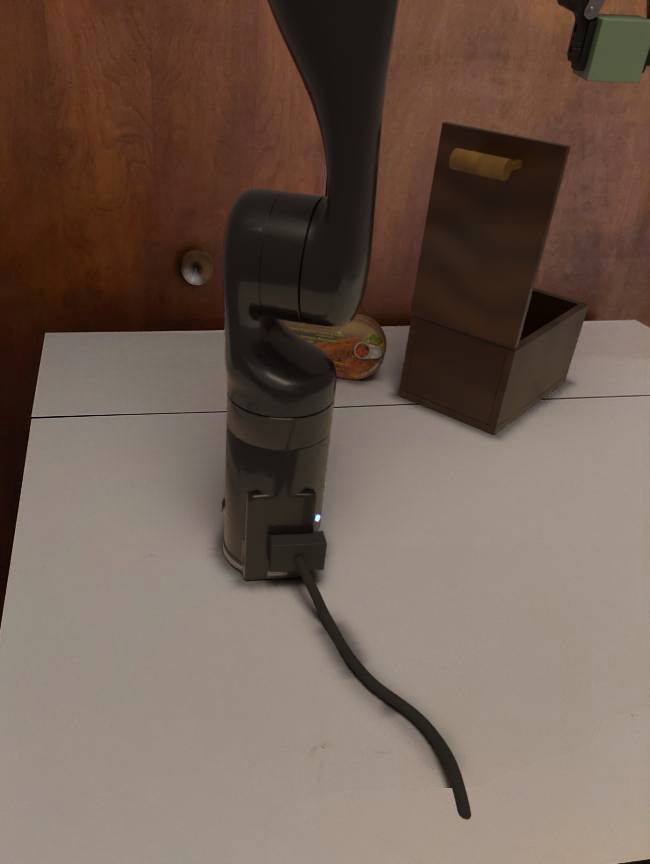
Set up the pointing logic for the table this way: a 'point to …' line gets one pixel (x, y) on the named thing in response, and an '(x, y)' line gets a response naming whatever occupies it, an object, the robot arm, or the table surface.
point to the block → (618, 49)
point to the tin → (348, 345)
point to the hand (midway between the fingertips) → (607, 69)
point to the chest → (491, 364)
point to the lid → (486, 229)
